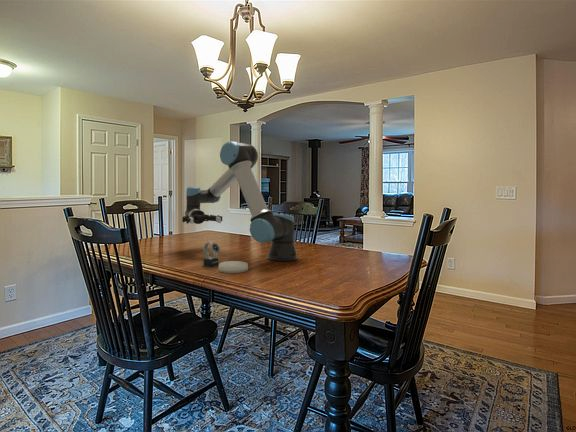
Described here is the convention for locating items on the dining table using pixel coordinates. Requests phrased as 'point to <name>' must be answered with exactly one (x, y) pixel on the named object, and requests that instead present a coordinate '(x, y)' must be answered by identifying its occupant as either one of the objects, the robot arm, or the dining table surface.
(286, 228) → the robot arm
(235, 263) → the display plinth
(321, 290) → the dining table surface
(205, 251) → the watch
